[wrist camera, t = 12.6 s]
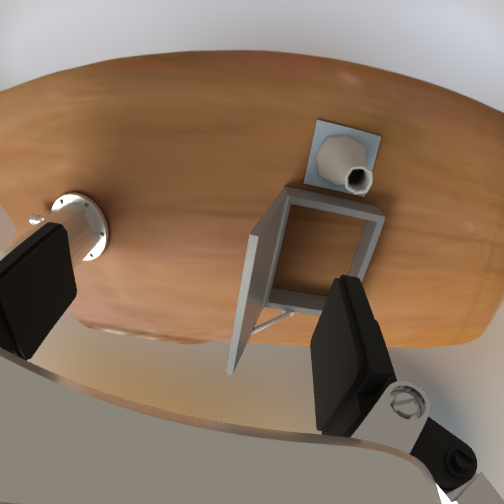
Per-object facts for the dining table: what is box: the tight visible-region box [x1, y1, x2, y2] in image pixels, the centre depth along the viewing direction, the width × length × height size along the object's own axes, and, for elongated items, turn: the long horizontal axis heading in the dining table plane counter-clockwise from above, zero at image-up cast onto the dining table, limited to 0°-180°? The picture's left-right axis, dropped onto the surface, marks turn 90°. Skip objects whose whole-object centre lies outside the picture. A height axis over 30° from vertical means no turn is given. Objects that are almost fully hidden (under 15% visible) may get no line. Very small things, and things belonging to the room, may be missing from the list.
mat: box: [303, 120, 381, 197], centre depth 39 cm, size 9×9×1 cm
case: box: [262, 186, 386, 315], centre depth 44 cm, size 15×18×5 cm
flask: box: [316, 135, 373, 194], centre depth 34 cm, size 7×7×10 cm
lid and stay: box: [226, 191, 294, 375], centre depth 37 cm, size 9×19×15 cm, turn 171°
